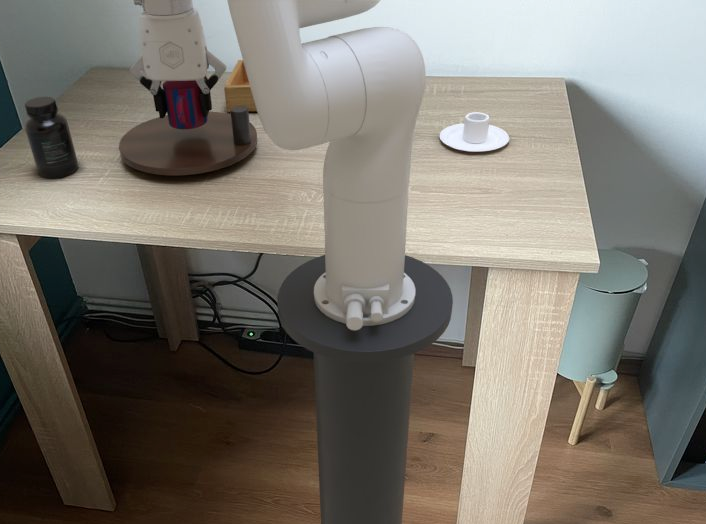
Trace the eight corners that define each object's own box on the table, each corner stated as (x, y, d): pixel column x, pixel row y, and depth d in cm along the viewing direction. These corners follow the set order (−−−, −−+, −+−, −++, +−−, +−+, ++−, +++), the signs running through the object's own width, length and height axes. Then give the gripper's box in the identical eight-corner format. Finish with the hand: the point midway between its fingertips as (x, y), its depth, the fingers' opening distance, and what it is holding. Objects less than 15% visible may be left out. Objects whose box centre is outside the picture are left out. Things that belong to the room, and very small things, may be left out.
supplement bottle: (39, 164, 127) (18, 97, 120) (78, 159, 129) (61, 91, 121) (37, 181, 122) (16, 112, 115) (79, 175, 123) (61, 106, 116)
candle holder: (461, 160, 122) (464, 136, 119) (427, 134, 131) (428, 110, 128) (522, 147, 125) (526, 122, 122) (484, 122, 134) (487, 98, 131)
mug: (210, 114, 129) (205, 75, 125) (199, 137, 121) (193, 97, 117) (174, 114, 130) (167, 76, 125) (160, 137, 122) (153, 97, 118)
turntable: (249, 174, 118) (245, 133, 113) (104, 176, 119) (95, 136, 115) (263, 116, 136) (260, 78, 132) (137, 118, 138) (130, 81, 133)
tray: (226, 113, 142) (223, 84, 138) (240, 85, 153) (238, 57, 150) (384, 114, 138) (385, 84, 135) (386, 85, 150) (387, 57, 146)
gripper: (107, 11, 110) (130, 124, 122) (220, 7, 109) (232, 122, 121) (119, -2, 116) (139, 107, 128) (226, -6, 115) (237, 105, 127)
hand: (184, 113), depth 124 cm, fingers closed on mug, 6 cm apart
